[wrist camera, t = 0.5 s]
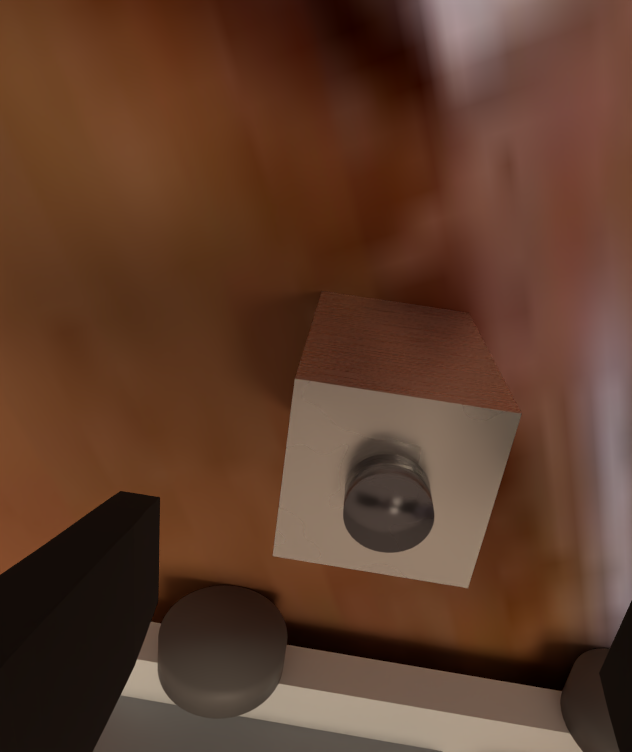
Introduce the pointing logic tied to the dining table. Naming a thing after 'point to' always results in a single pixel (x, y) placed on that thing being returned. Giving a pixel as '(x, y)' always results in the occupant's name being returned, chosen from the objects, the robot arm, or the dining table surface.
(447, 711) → the chassis
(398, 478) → the block
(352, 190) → the dining table surface
